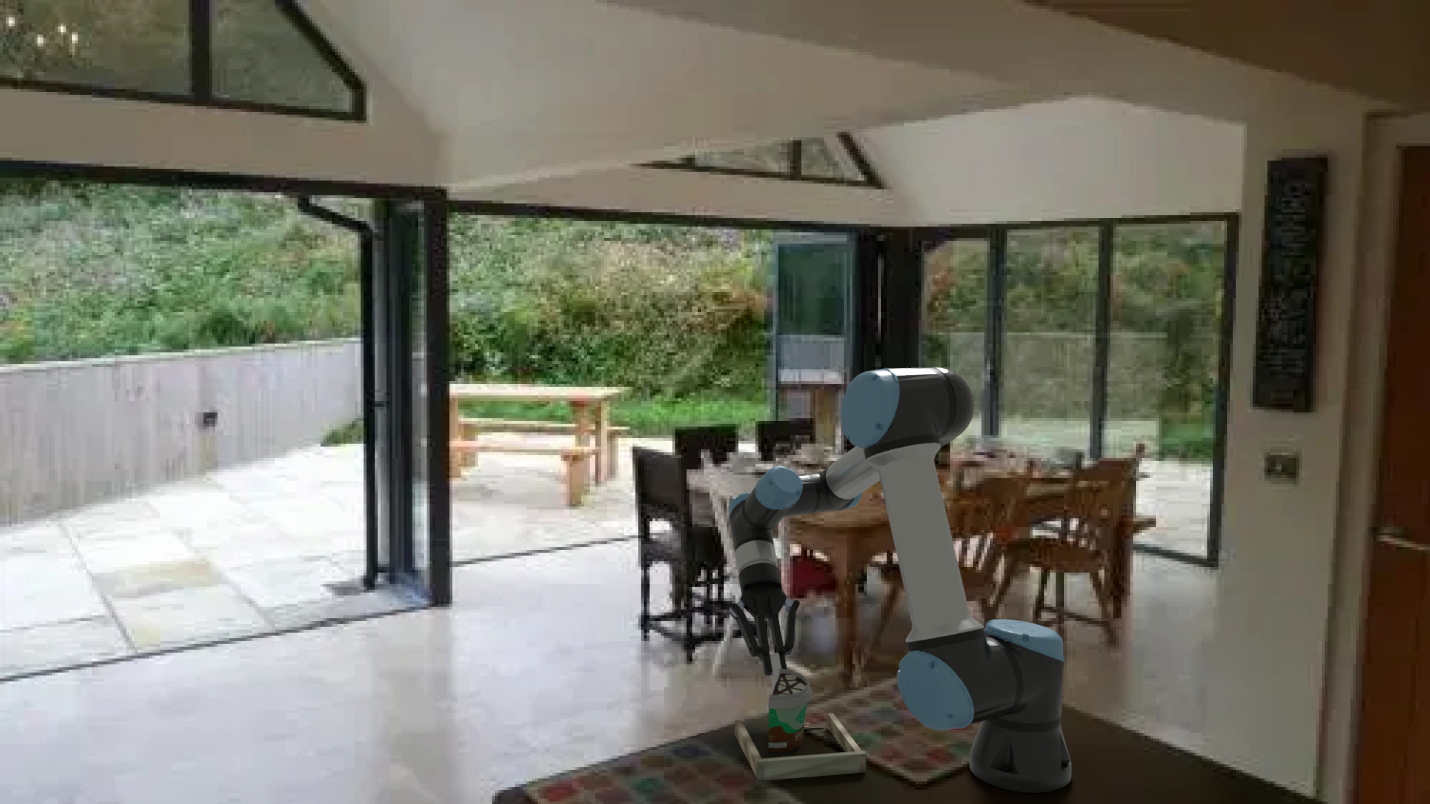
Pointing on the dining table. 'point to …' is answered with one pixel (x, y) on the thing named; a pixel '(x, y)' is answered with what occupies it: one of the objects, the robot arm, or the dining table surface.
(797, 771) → the beige u-shaped frame
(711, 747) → the dining table surface
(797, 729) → the food container
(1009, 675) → the robot arm
